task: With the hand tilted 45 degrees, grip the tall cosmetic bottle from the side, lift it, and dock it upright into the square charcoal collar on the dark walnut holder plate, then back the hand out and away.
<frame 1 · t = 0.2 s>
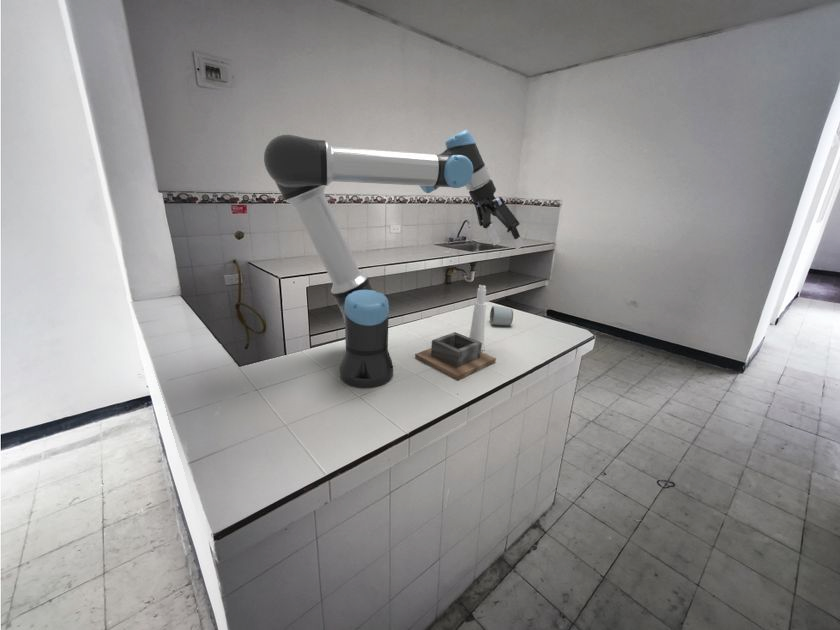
hand: (507, 245, 118), 35 cm above the countertop, tool tilted 35°, fingers open, 13 cm apart
bottle holder: (455, 360, 116), on the countertop
ceramic mug: (498, 323, 151), on the countertop
cosmetic bottle: (475, 348, 126), on the countertop
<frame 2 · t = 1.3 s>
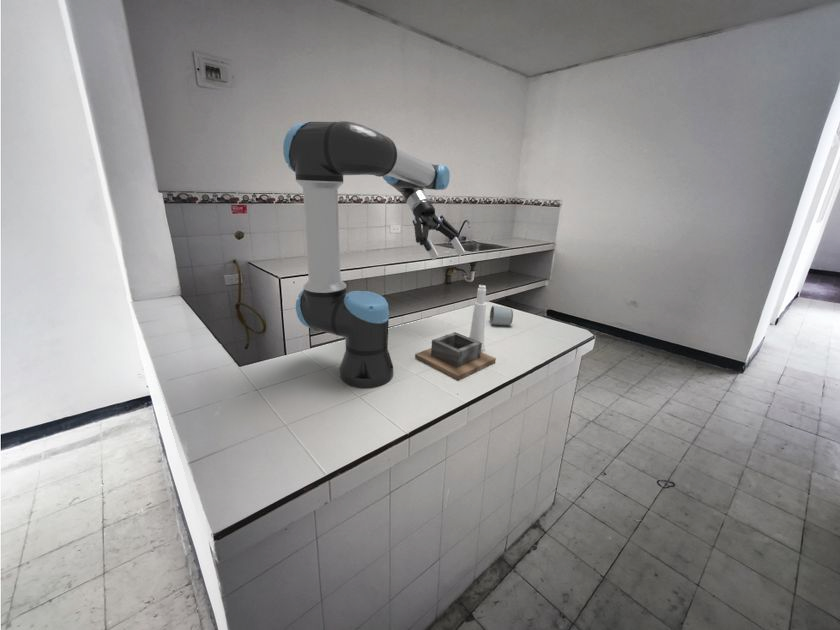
hand: (449, 255, 127), 29 cm above the countertop, tool tilted 45°, fingers open, 13 cm apart
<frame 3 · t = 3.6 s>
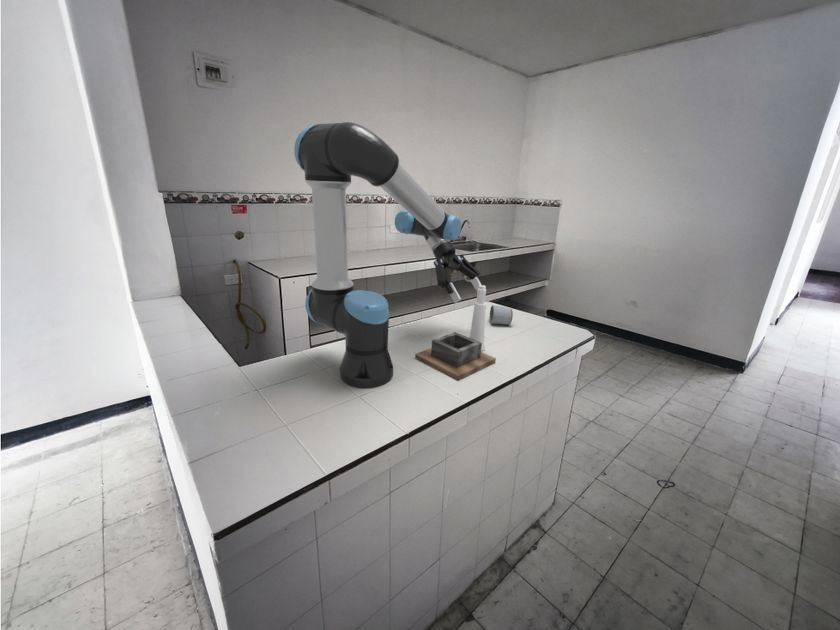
hand: (470, 297, 125), 16 cm above the countertop, tool tilted 45°, fingers open, 13 cm apart
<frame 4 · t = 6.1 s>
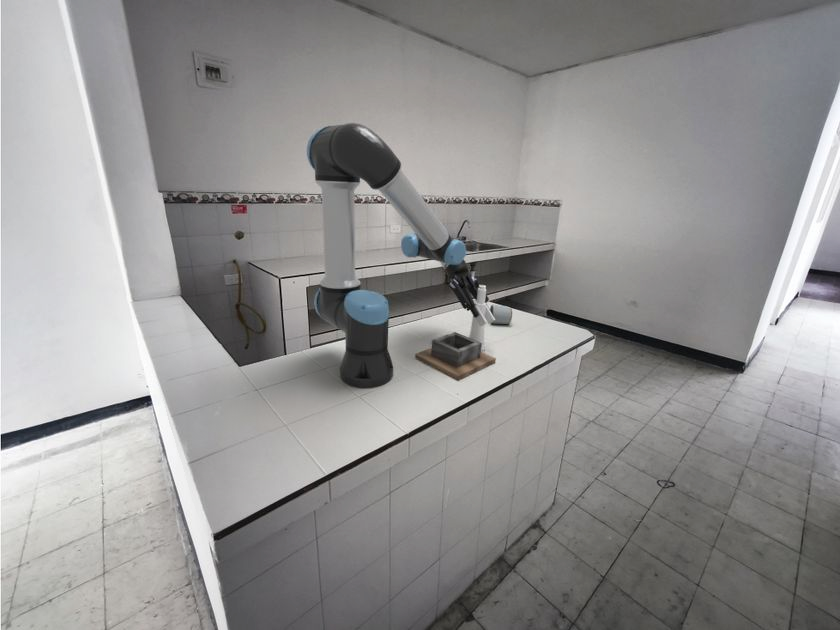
hand: (487, 323, 120), 10 cm above the countertop, tool tilted 45°, fingers closed on cosmetic bottle, 4 cm apart
cosmetic bottle: (475, 348, 126), on the countertop, touching gripper
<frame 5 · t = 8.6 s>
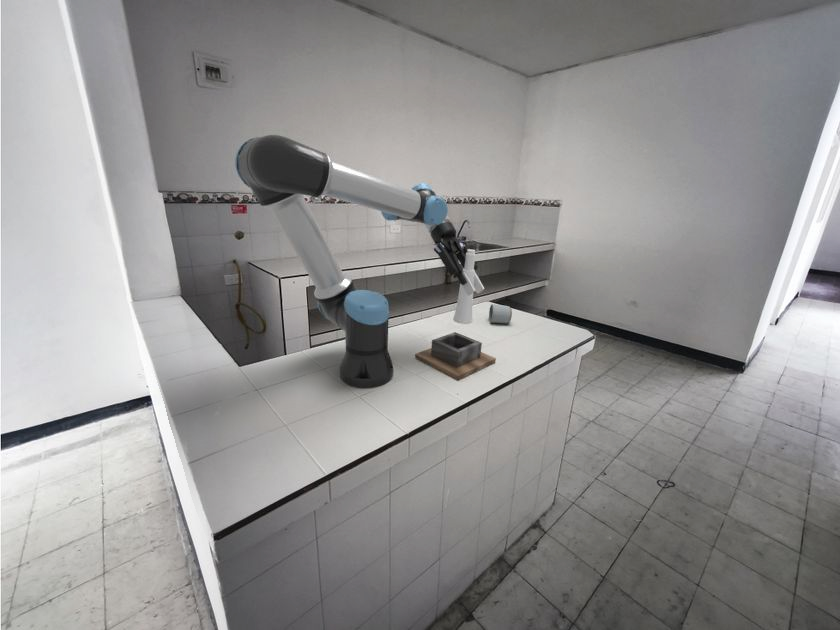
hand: (476, 292, 108), 23 cm above the countertop, tool tilted 45°, fingers closed on cosmetic bottle, 4 cm apart
cosmetic bottle: (462, 321, 114), point 12 cm above the countertop, touching gripper
when the fingers open (13 cm above the countertop, at t = 11.4 s): cosmetic bottle drops 1 cm, resting on bottle holder.
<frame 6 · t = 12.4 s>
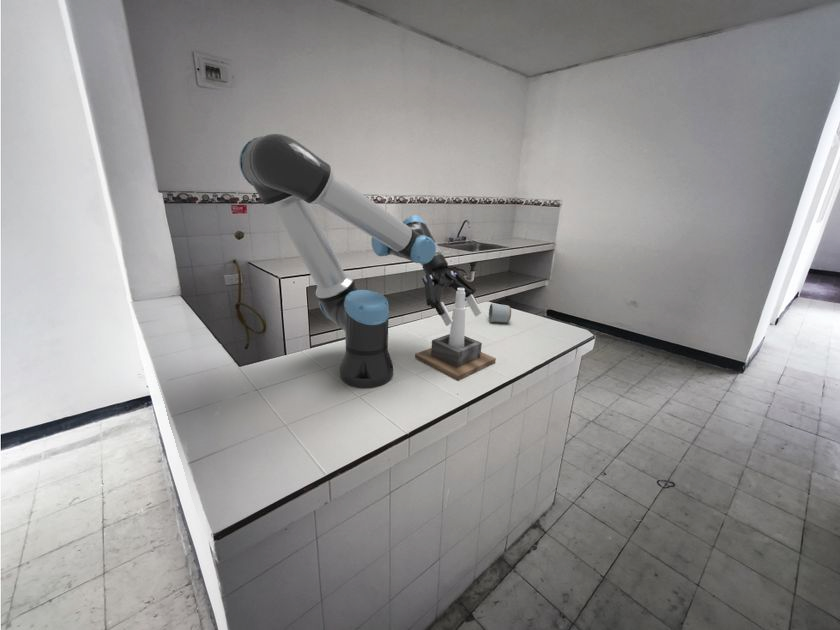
hand: (465, 319, 110), 15 cm above the countertop, tool tilted 45°, fingers open, 13 cm apart
cosmetic bottle: (455, 356, 116), point 1 cm above the countertop, touching bottle holder
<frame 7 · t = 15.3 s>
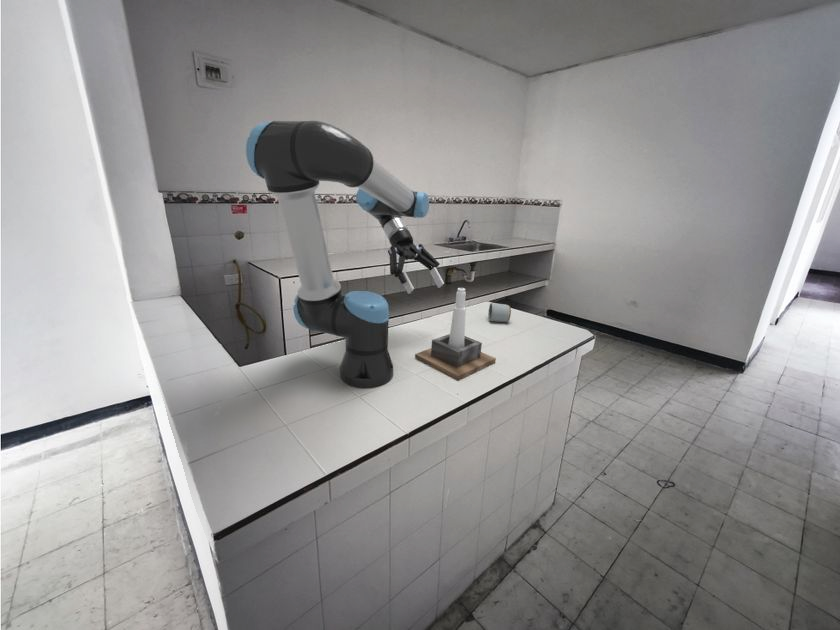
hand: (426, 288, 119), 20 cm above the countertop, tool tilted 45°, fingers open, 13 cm apart
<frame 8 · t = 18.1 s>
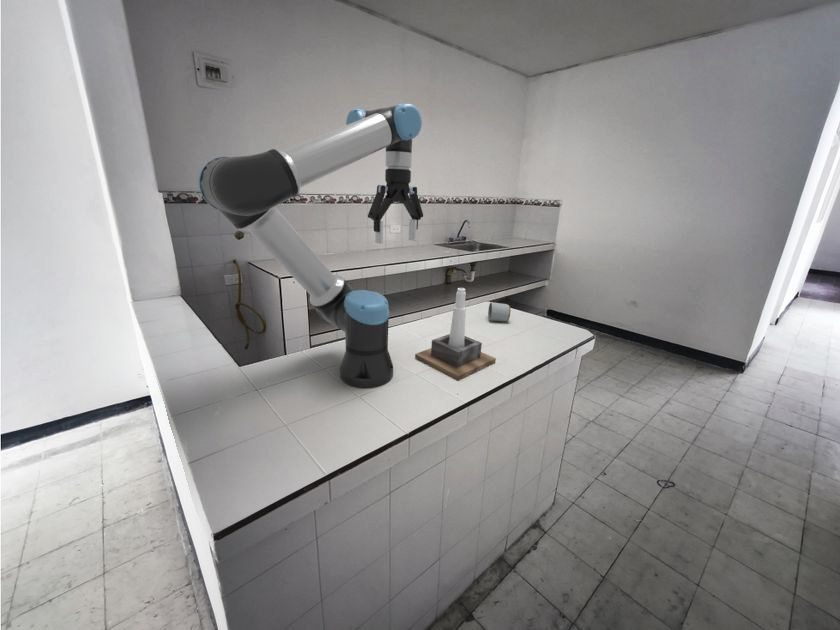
hand: (396, 241, 115), 35 cm above the countertop, tool pointing down, fingers open, 13 cm apart
at the end: cosmetic bottle 0.1 cm off-centre on the bottle holder, point 1.3 cm above the bottle holder's base; cosmetic bottle tilted 0°; the gripper is holding nothing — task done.
